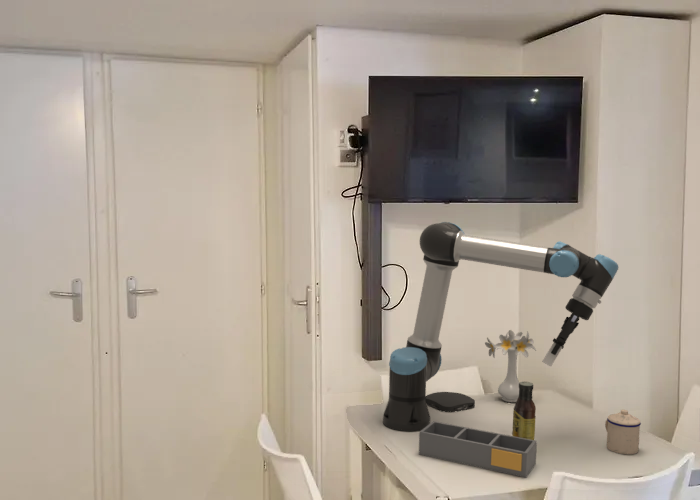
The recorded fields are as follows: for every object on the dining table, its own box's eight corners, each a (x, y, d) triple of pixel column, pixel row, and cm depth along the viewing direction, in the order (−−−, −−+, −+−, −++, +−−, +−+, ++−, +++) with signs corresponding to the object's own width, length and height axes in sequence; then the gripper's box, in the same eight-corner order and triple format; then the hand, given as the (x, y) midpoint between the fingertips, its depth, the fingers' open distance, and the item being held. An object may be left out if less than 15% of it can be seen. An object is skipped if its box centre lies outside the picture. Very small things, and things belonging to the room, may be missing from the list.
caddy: (418, 454, 188) (418, 432, 188) (432, 442, 198) (433, 421, 198) (525, 478, 174) (526, 453, 174) (535, 463, 184) (536, 440, 183)
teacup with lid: (646, 453, 193) (648, 414, 192) (619, 456, 190) (622, 416, 189) (618, 438, 204) (620, 401, 203) (592, 441, 201) (594, 403, 200)
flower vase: (477, 397, 243) (480, 329, 241) (519, 392, 250) (522, 326, 248) (499, 408, 231) (501, 337, 229) (542, 403, 238) (545, 333, 236)
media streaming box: (452, 396, 245) (452, 388, 244) (479, 408, 232) (479, 399, 232) (420, 402, 237) (420, 394, 237) (446, 414, 225) (446, 406, 224)
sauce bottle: (510, 445, 197) (513, 379, 196) (532, 446, 196) (535, 380, 195) (512, 453, 191) (515, 385, 189) (535, 455, 190) (538, 386, 188)
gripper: (598, 306, 188) (559, 371, 188) (590, 312, 212) (556, 370, 212) (573, 292, 190) (535, 356, 190) (569, 300, 214) (535, 357, 214)
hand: (546, 364), depth 201 cm, fingers open, 13 cm apart
